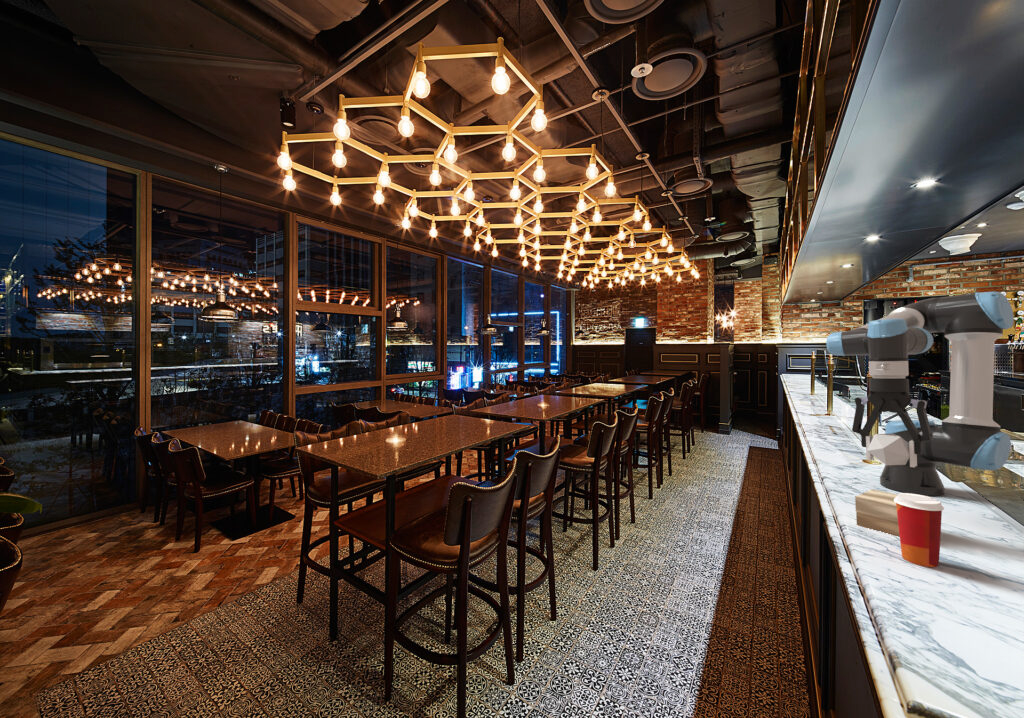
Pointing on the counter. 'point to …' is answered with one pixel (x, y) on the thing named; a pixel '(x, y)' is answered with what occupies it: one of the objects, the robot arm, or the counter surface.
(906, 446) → the die
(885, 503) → the tower top slab
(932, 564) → the paper cup
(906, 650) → the counter surface
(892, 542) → the counter surface
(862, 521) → the tower base slab
